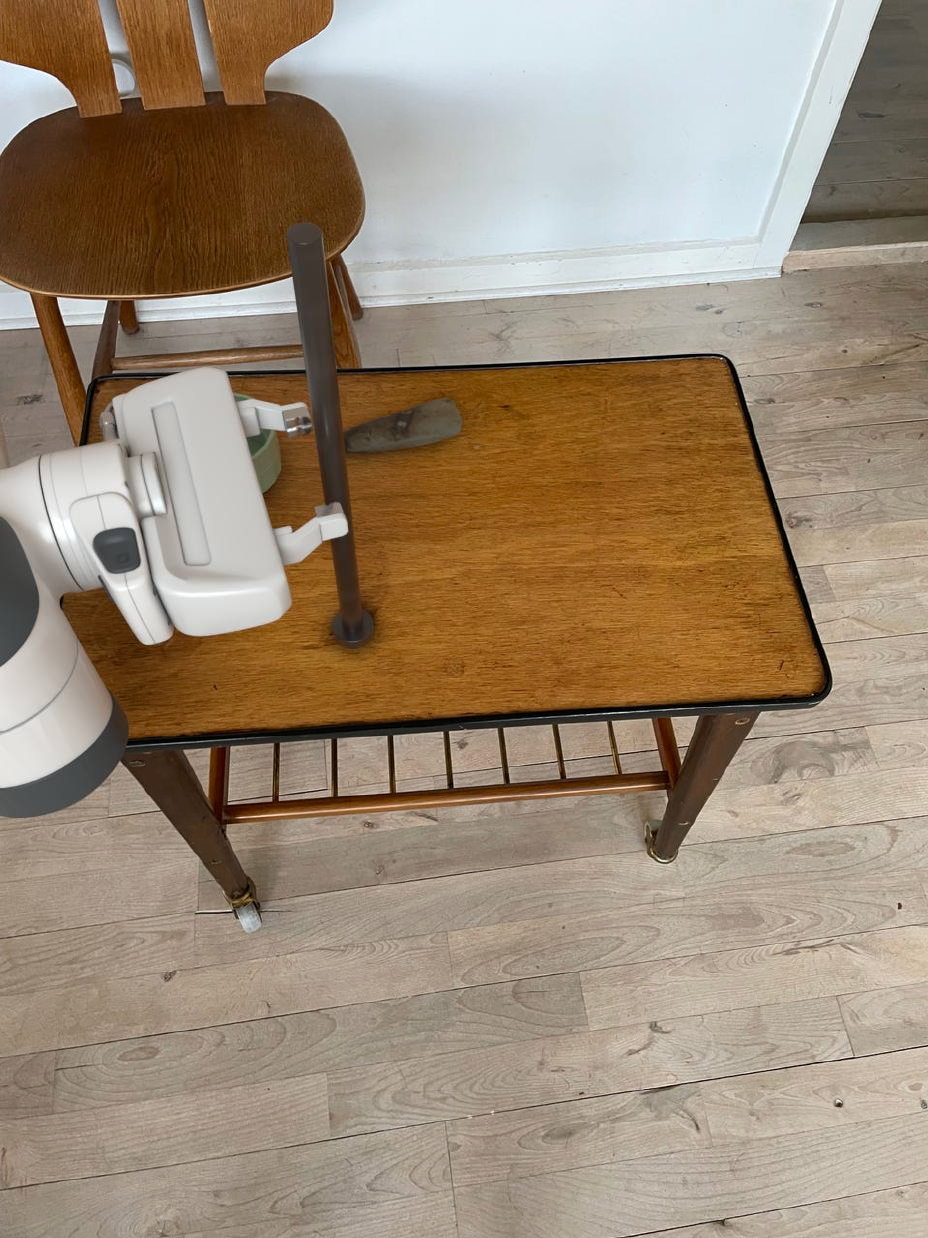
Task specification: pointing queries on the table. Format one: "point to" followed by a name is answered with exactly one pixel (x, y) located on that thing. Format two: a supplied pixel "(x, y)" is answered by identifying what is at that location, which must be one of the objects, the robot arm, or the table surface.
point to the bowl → (264, 453)
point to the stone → (406, 428)
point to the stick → (327, 420)
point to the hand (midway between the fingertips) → (326, 465)
